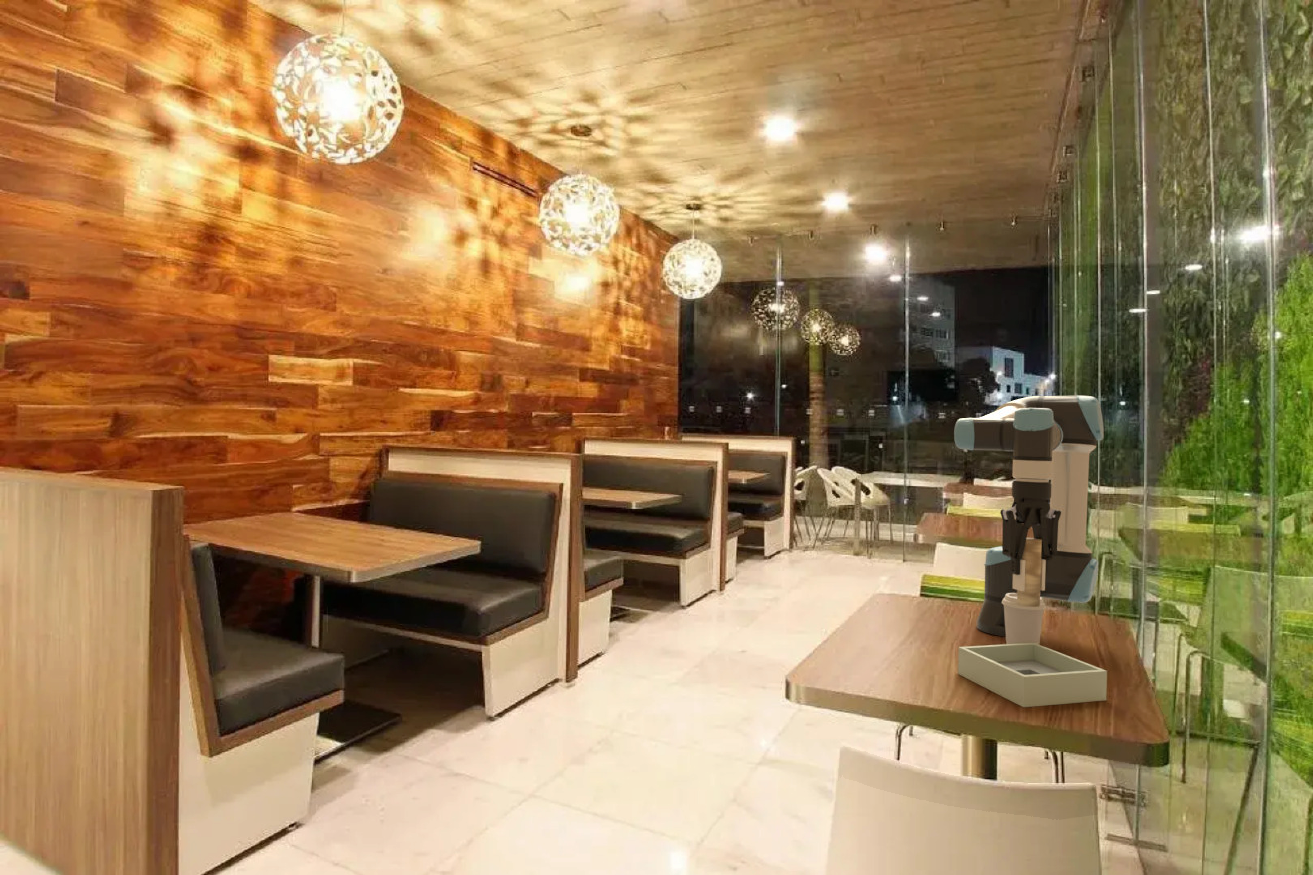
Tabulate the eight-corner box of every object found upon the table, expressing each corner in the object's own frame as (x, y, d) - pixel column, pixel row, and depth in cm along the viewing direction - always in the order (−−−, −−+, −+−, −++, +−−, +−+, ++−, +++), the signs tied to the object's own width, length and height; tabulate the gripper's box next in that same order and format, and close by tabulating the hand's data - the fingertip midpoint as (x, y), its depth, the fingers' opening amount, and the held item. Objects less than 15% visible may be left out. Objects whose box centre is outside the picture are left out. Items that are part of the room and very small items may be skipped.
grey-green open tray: (1033, 668, 169) (1033, 642, 169) (1106, 700, 149) (1107, 670, 149) (957, 673, 164) (958, 647, 164) (1023, 707, 144) (1024, 676, 144)
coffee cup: (1040, 655, 179) (1042, 594, 179) (1047, 667, 170) (1049, 602, 170) (997, 650, 182) (999, 590, 182) (1002, 661, 173) (1004, 598, 173)
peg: (1029, 601, 159) (1031, 537, 159) (1044, 606, 155) (1046, 540, 155) (1012, 602, 158) (1014, 537, 158) (1026, 607, 154) (1028, 540, 154)
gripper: (1052, 479, 162) (1049, 584, 162) (984, 478, 158) (981, 586, 158) (1079, 481, 155) (1076, 592, 155) (1009, 481, 151) (1005, 594, 151)
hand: (1028, 589), depth 157 cm, fingers closed on peg, 4 cm apart
